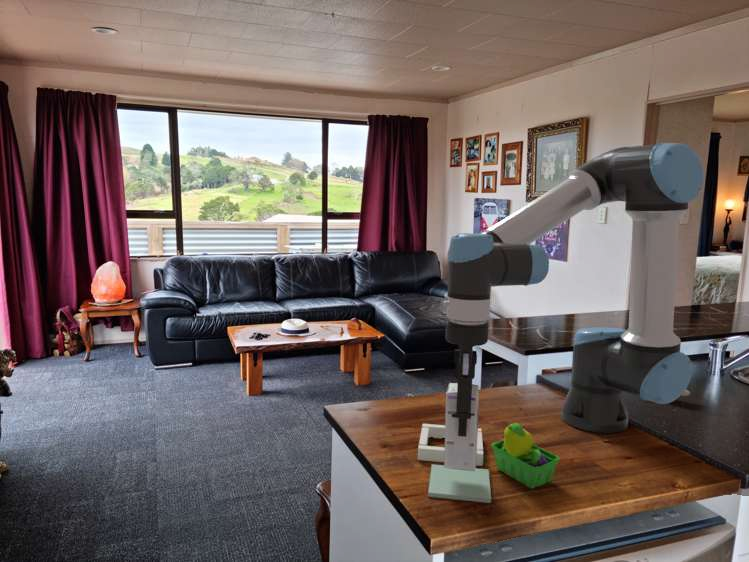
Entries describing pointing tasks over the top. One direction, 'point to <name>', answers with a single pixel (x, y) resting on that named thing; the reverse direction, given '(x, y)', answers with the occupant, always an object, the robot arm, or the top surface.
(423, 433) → the white open square frame
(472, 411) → the syrup box
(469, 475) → the mat
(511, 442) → the fruit basket
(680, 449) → the top surface
